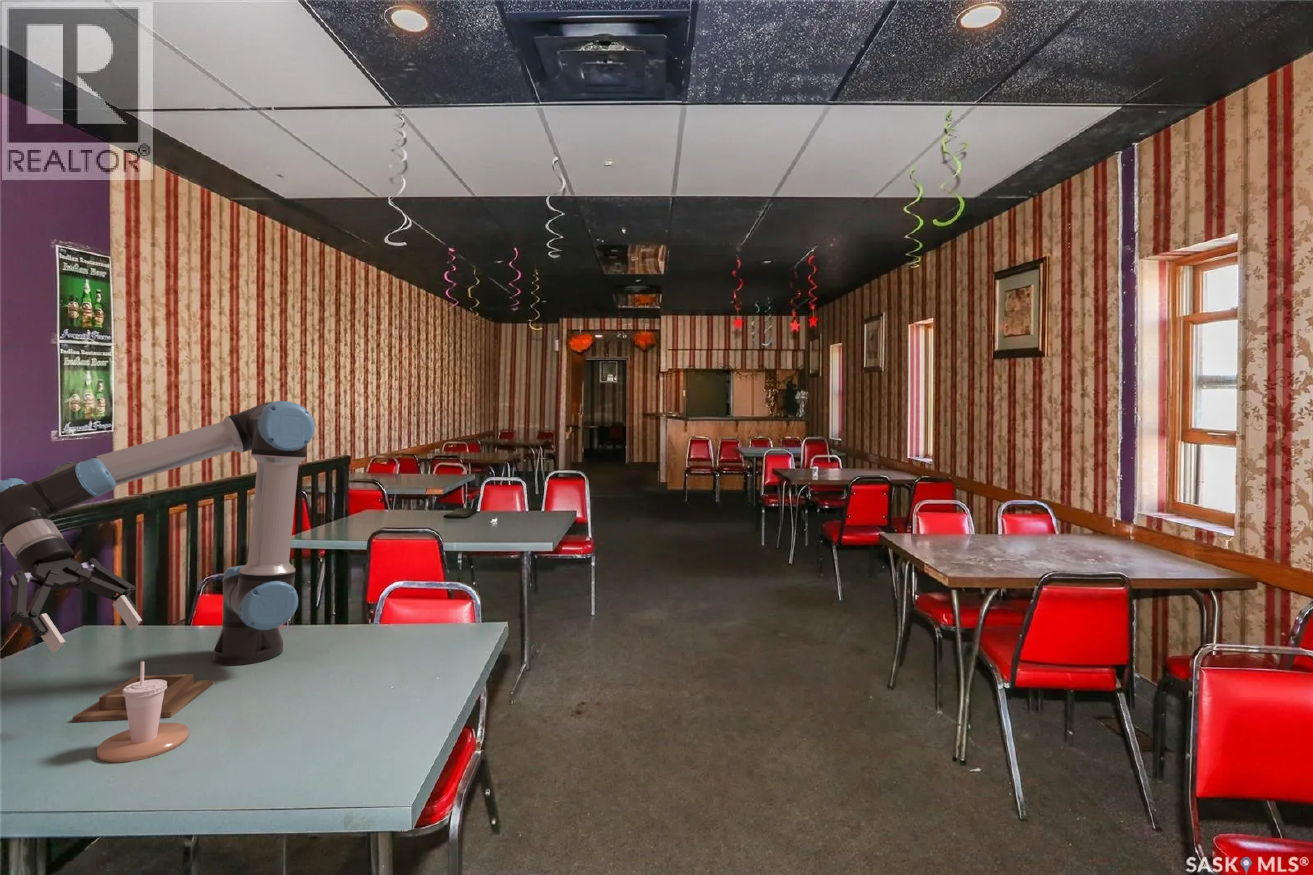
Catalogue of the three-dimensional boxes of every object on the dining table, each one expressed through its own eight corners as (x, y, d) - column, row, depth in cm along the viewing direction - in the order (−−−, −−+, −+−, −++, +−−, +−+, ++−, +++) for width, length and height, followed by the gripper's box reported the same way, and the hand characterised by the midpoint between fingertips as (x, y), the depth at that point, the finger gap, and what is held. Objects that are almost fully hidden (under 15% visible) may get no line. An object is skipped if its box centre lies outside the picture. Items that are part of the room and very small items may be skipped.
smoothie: (138, 730, 120) (139, 655, 120) (174, 730, 120) (176, 655, 120) (111, 747, 113) (113, 668, 113) (150, 746, 114) (152, 668, 114)
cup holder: (213, 684, 144) (213, 668, 144) (170, 717, 128) (171, 699, 128) (127, 688, 141) (128, 672, 141) (72, 722, 125) (73, 704, 125)
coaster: (202, 726, 124) (202, 721, 124) (163, 759, 111) (164, 753, 111) (126, 730, 122) (126, 724, 122) (78, 764, 109) (78, 759, 109)
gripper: (97, 550, 135) (153, 629, 132) (-56, 575, 111) (7, 671, 108) (119, 527, 134) (175, 605, 131) (-32, 546, 110) (33, 643, 107)
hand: (99, 635), depth 119 cm, fingers open, 13 cm apart
